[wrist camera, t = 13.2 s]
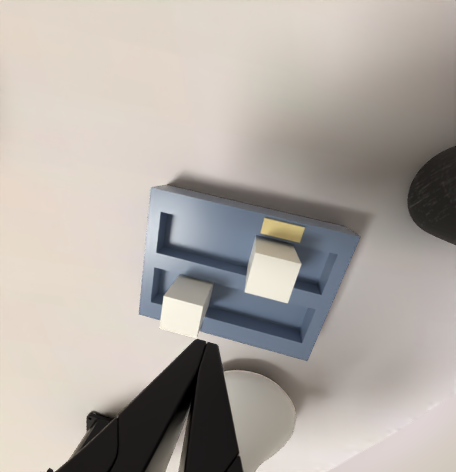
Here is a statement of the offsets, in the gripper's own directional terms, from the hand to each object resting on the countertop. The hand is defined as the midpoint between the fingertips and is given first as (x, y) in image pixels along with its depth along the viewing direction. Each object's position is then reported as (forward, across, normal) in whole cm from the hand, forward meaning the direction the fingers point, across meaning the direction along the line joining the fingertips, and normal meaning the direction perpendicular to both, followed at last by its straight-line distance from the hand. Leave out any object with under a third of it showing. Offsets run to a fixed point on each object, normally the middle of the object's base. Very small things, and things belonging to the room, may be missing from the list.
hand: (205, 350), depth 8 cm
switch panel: (+13, -1, +2) cm, 13 cm away
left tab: (+11, +3, +5) cm, 13 cm away
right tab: (+11, -3, 0) cm, 12 cm away
